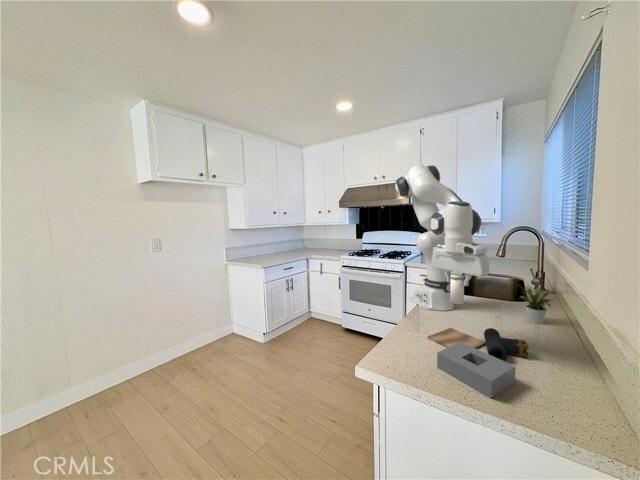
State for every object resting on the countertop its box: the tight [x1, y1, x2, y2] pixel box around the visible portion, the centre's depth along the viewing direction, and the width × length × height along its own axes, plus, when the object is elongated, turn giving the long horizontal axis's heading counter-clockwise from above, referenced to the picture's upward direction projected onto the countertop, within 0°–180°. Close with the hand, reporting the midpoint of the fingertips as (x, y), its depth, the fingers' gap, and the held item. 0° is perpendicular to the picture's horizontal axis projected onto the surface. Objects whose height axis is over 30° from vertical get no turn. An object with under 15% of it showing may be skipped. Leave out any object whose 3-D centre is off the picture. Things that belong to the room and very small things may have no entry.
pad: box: [427, 327, 486, 349], centre depth 96 cm, size 14×14×1 cm
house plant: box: [516, 285, 554, 325], centre depth 110 cm, size 14×14×16 cm
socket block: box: [436, 342, 517, 399], centre depth 76 cm, size 16×12×5 cm
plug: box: [450, 273, 465, 305], centre depth 94 cm, size 4×4×10 cm
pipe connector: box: [483, 327, 530, 362], centre depth 88 cm, size 12×5×15 cm
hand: (457, 283), depth 94 cm, fingers closed on plug, 4 cm apart
